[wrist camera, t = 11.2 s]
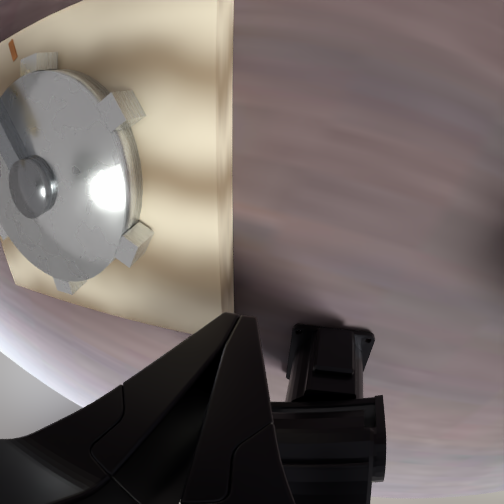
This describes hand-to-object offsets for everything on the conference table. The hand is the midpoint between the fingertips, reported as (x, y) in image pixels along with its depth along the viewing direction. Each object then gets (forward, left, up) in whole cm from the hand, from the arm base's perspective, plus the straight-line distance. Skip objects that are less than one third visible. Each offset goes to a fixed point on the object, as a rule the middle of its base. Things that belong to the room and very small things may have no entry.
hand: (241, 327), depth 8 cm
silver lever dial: (+1, +16, -10) cm, 19 cm away
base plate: (+1, +16, -13) cm, 21 cm away
